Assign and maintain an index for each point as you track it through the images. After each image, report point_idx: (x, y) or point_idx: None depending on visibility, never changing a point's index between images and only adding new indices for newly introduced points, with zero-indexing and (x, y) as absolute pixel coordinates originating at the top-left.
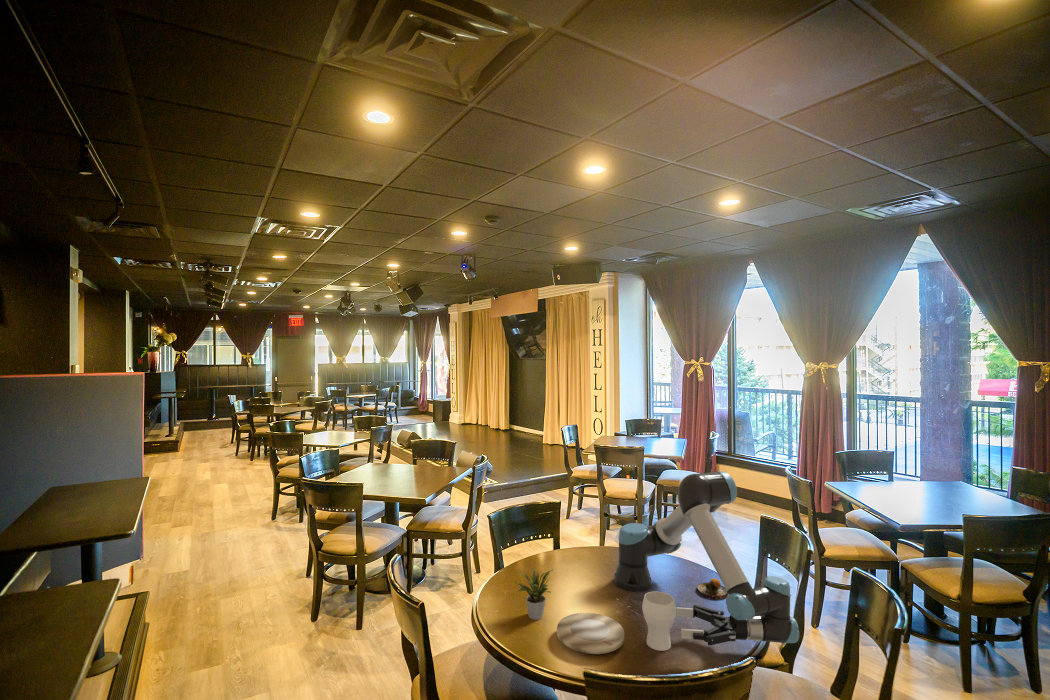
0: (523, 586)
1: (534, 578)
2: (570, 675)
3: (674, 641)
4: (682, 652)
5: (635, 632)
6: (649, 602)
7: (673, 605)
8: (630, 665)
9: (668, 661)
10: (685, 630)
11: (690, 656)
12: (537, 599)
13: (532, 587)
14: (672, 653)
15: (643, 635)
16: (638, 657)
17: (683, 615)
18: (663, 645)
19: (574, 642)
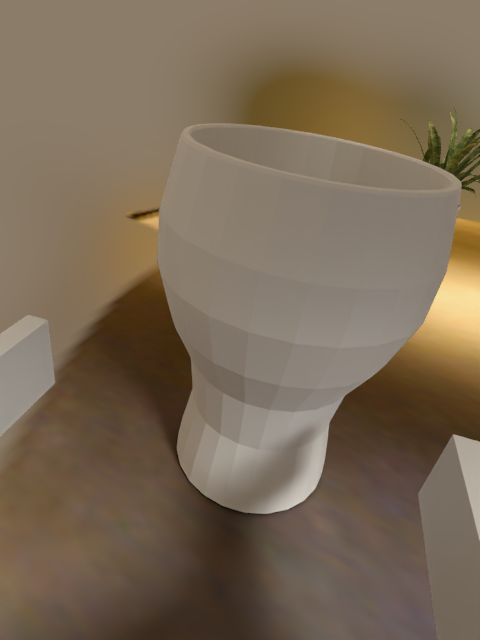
0: (427, 150)
1: (475, 152)
2: (142, 219)
3: (274, 563)
4: (124, 545)
5: (366, 400)
6: (252, 128)
7: (202, 181)
8: (124, 302)
9: (77, 418)
10: (3, 334)
11: (50, 579)
12: None
13: (458, 177)
14: (138, 474)
15: (341, 419)
16: (162, 336)
17: (440, 595)
18: (183, 418)
19: None
